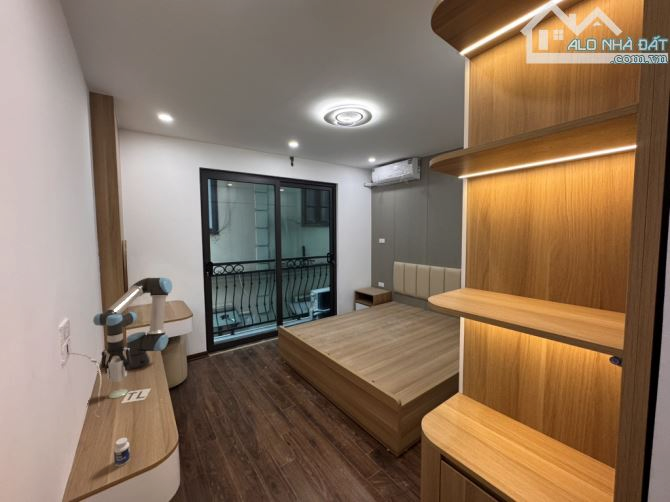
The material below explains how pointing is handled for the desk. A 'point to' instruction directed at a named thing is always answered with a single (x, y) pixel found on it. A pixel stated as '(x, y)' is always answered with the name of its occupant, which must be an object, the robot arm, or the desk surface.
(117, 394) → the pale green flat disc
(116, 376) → the cup
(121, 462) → the pill bottle
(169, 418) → the desk surface
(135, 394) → the tile
